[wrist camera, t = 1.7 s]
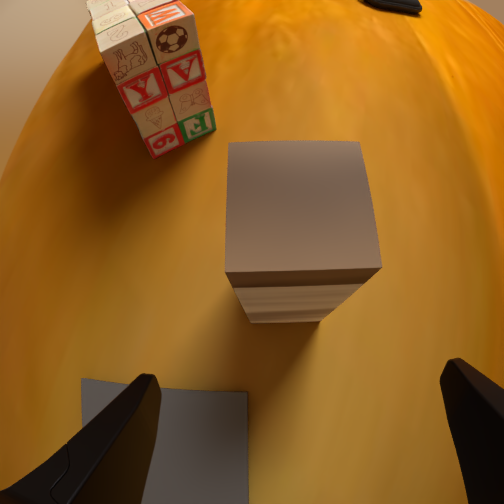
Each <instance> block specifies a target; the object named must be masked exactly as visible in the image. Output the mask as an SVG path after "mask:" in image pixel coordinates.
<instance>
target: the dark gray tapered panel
mask: <svg viewBox="0 0 504 504" xmlns="http://www.w3.org/2000/svg"><path fill="white" fill-rule="evenodd" d="M128 385H129V384H121V383H113V382H106V381H99V380H93V379H87V378H81V392H82V425H83V427H84V426H85V425H86V424H88V423H89V422H90V421H91V420H92V419H93V418H94V417H95V416H96V415H97V414H98V413H99V412H100V411H102V410H103V409H104V408H105V407H106V406H107V405H108V404H109V403H110V402H111V401H112V400H113V399H114V398H116V397H117V396H118V395H119V394H120V393H121V392H122V391H123V390H124V389H125V388H126V387H127V386H128ZM160 389H161V393H162V400H161V407H160V415H159V423H158V431H157V438H156V443H155V448H154V452H153V456H152V460H151V464H150V468H149V472H148V476H147V480H146V485H145V489H144V493H143V498H142V502H141V504H249V487H248V392H228V391H200V390H182V389H169V388H160Z"/></svg>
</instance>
